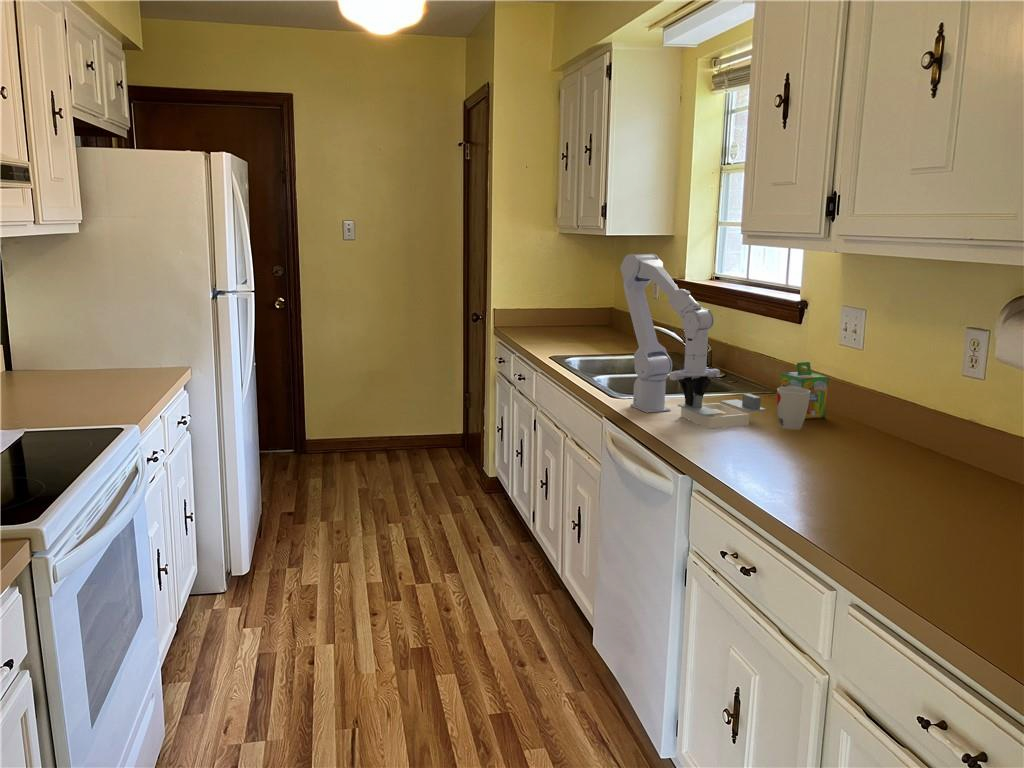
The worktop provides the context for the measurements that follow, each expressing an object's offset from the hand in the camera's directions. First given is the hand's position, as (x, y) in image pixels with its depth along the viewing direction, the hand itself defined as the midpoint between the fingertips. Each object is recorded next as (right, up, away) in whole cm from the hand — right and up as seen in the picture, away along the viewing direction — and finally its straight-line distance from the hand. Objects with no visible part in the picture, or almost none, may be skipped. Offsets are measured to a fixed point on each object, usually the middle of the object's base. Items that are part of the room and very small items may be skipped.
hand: (693, 404), depth 217 cm
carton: (+6, -4, 0) cm, 7 cm away
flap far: (+14, -1, +2) cm, 14 cm away
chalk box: (+32, -3, +7) cm, 33 cm away
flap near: (+1, -1, -3) cm, 3 cm away
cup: (+24, -6, -6) cm, 26 cm away
